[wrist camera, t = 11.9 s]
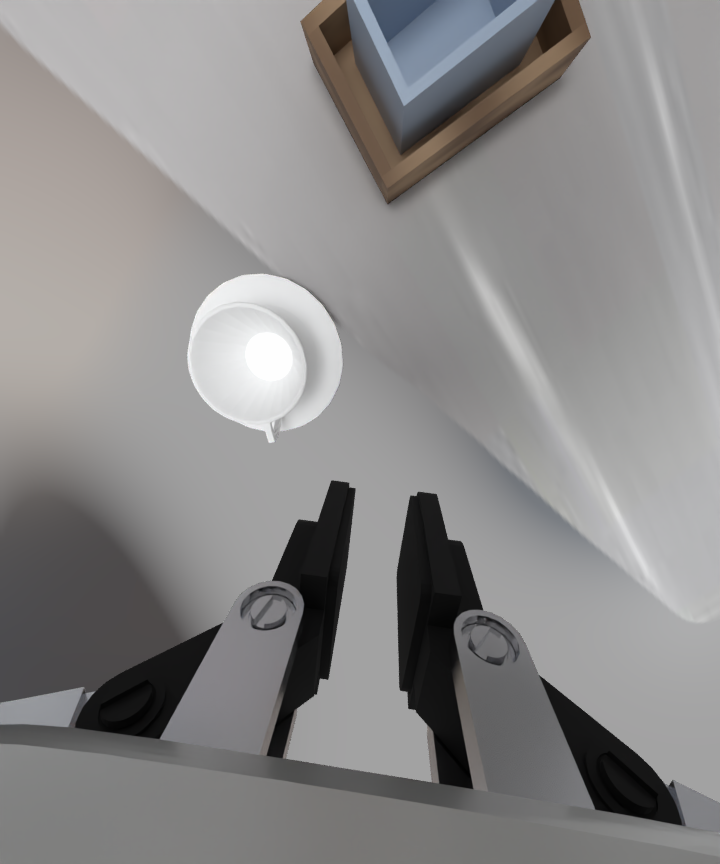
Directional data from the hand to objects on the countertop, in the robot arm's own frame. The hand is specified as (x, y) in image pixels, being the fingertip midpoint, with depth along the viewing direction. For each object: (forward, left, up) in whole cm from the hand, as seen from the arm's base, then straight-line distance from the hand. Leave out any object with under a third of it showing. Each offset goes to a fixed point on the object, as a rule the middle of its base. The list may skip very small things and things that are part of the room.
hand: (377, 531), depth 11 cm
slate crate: (-1, -20, -19) cm, 27 cm away
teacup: (+9, -2, -19) cm, 22 cm away
